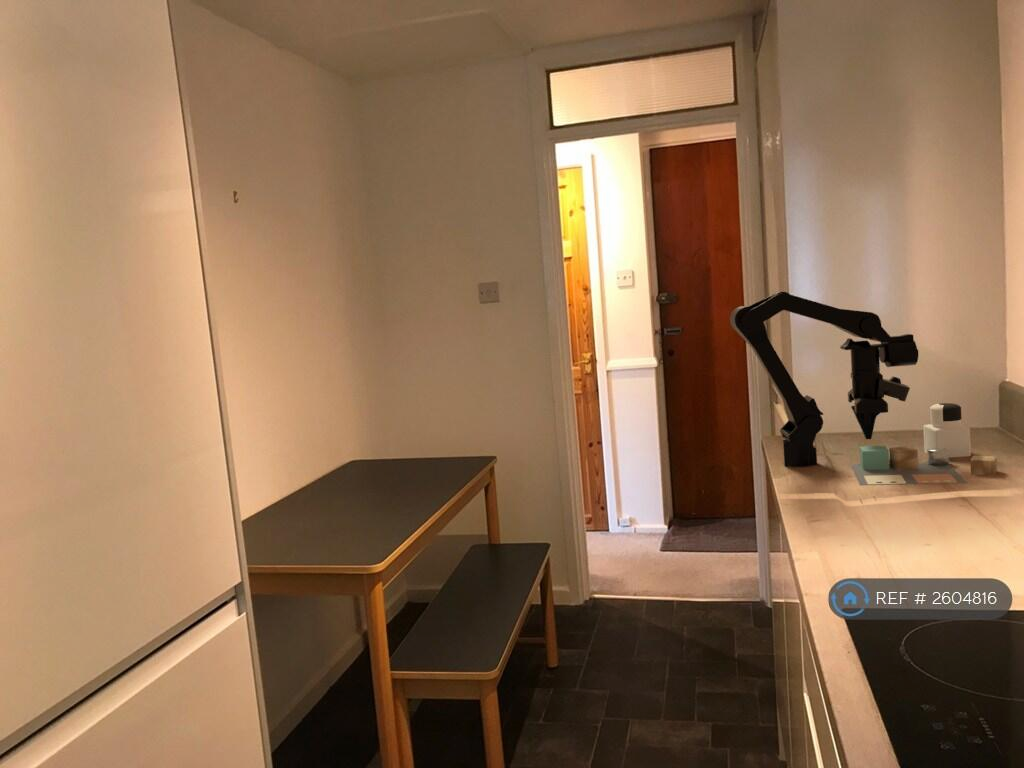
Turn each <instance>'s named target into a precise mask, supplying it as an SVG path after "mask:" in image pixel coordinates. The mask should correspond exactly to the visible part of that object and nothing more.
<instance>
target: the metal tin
mask: <svg viewBox="0 0 1024 768" xmlns="http://www.w3.org/2000/svg"><path fill="white" fill-rule="evenodd" d="M926 455H927V456H926V457H927V462H928V465H932V466H945V465H949V464H950V458H949V450H948V449H946V448H930V449H927V453H926Z"/></svg>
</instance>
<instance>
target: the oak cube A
mask: <svg viewBox="0 0 1024 768" xmlns="http://www.w3.org/2000/svg"><path fill="white" fill-rule="evenodd" d="M918 451H919V450H918V449H916V448H914V447H912V446H911V447H910V446H909V445H907V446H897V447H896V446H895V447H889V449H888V452H889V463H890V467H892V468H894V469H896V470H899V471H900V470H911V469H918V463H919V459H918V458H919V456H918Z"/></svg>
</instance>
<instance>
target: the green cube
mask: <svg viewBox="0 0 1024 768" xmlns="http://www.w3.org/2000/svg"><path fill="white" fill-rule="evenodd" d="M859 454H860V455H859V457H860V459H859V460H860V464H861V466H862V468H863V470H888V469H889V463H890V452H889V449H888V448H887V446H886V445H871V446H868V445H867V446H859Z"/></svg>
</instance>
